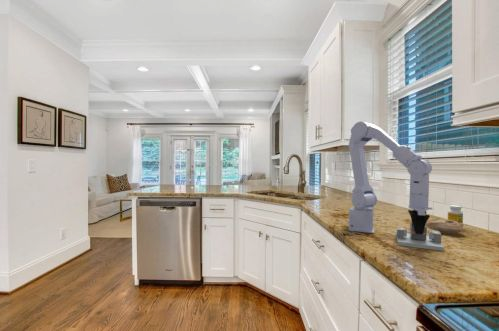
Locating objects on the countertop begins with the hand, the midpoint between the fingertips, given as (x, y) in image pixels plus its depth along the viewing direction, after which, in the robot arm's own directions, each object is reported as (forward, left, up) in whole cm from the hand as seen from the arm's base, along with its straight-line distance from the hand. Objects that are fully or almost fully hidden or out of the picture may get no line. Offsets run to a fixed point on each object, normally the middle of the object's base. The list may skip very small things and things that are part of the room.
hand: (417, 232), depth 97 cm
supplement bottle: (+18, +33, -4) cm, 38 cm away
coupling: (0, 0, -2) cm, 2 cm away
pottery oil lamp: (+12, +21, -4) cm, 24 cm away
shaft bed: (0, 0, -4) cm, 4 cm away
